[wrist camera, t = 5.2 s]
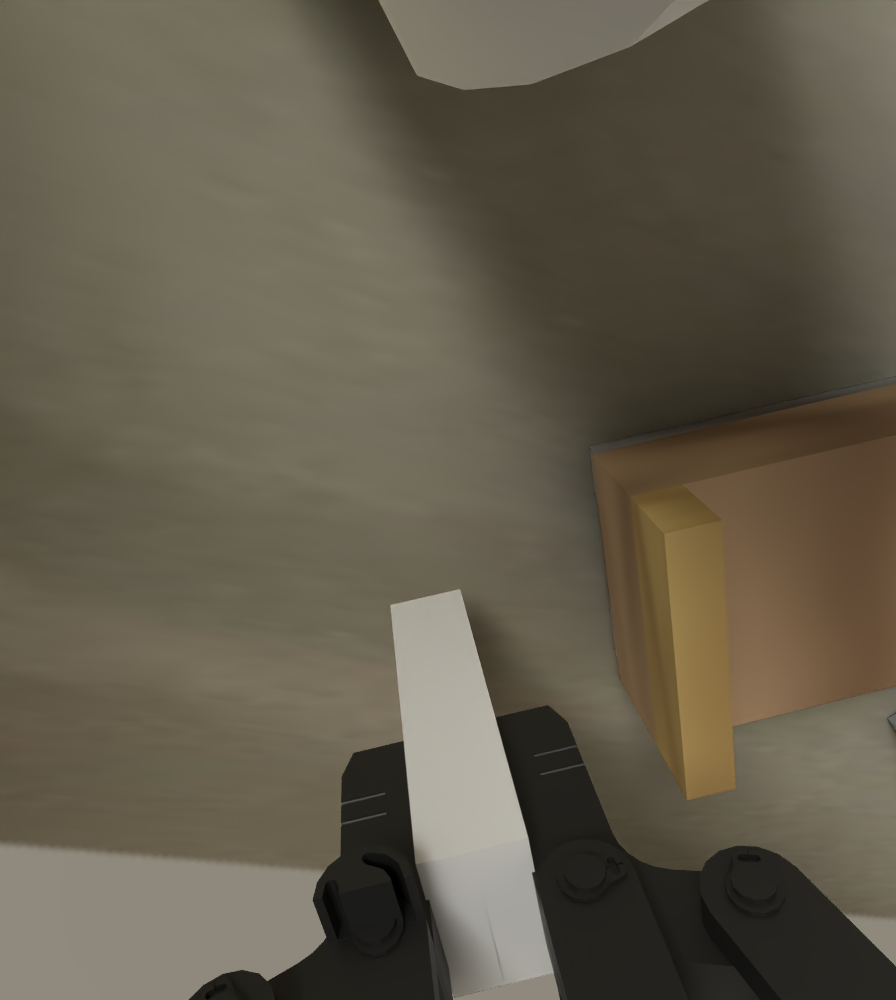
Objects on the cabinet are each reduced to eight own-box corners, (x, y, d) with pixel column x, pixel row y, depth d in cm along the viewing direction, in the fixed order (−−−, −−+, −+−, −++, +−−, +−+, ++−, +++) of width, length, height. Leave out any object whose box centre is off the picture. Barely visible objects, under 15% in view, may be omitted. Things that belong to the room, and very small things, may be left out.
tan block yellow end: (606, 655, 19) (686, 800, 15) (578, 439, 17) (664, 533, 12) (901, 583, 20) (1070, 705, 15) (915, 361, 17) (1120, 425, 13)
